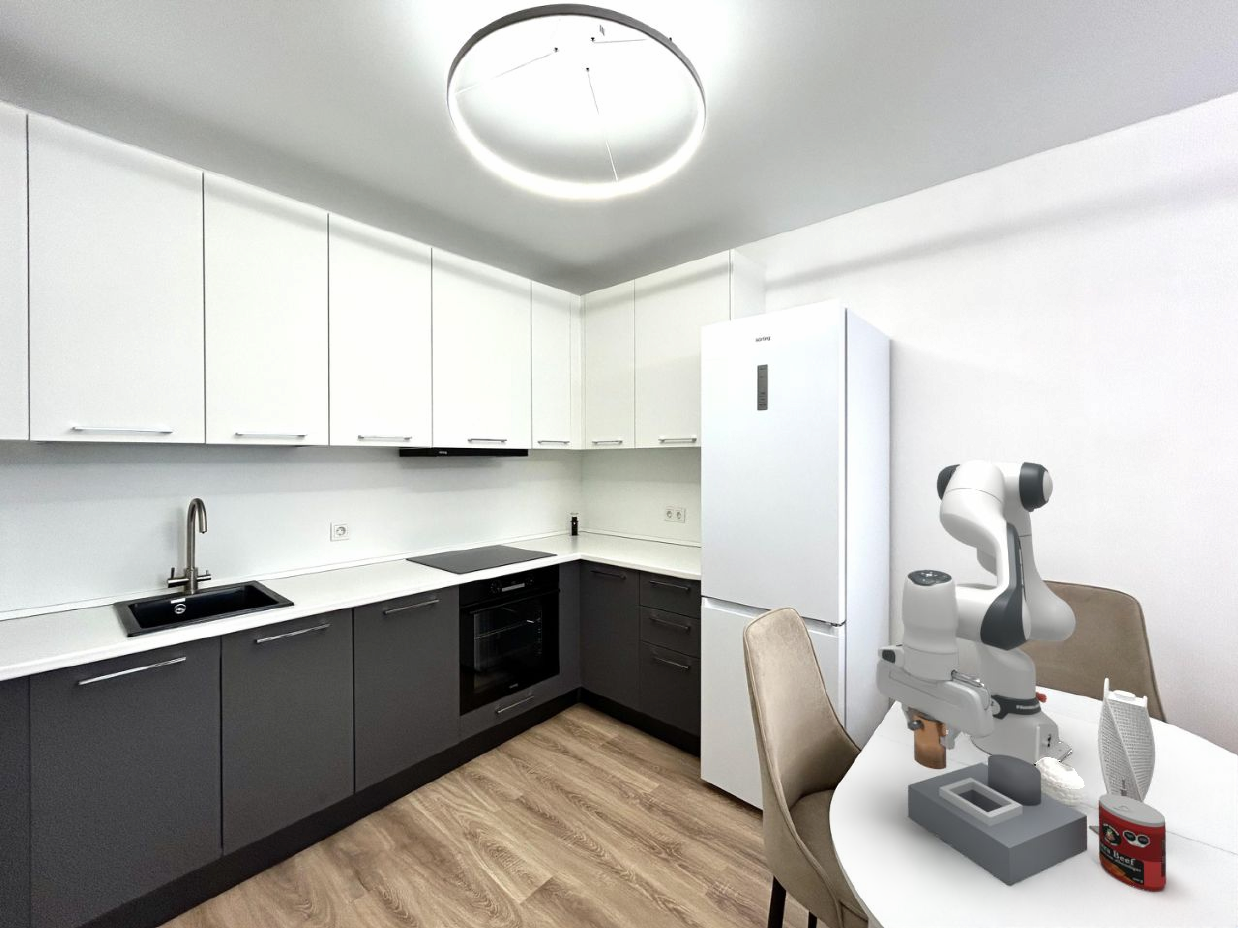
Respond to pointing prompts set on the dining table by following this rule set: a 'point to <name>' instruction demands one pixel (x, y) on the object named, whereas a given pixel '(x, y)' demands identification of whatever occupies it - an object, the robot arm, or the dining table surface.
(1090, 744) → the dining table surface
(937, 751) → the spout can
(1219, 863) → the dining table surface
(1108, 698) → the skyscraper
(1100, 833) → the canned food
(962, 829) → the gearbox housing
